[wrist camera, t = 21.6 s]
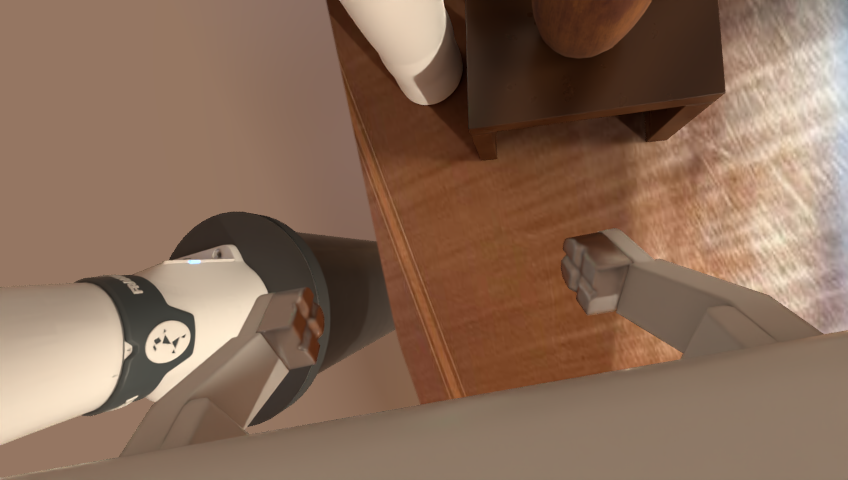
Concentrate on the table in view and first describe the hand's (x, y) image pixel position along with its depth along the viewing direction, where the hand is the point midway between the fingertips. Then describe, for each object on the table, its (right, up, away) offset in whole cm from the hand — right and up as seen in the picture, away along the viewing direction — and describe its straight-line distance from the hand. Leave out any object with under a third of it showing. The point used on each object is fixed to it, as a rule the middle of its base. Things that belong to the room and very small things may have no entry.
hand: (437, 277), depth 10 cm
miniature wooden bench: (+13, +16, +19) cm, 28 cm away
